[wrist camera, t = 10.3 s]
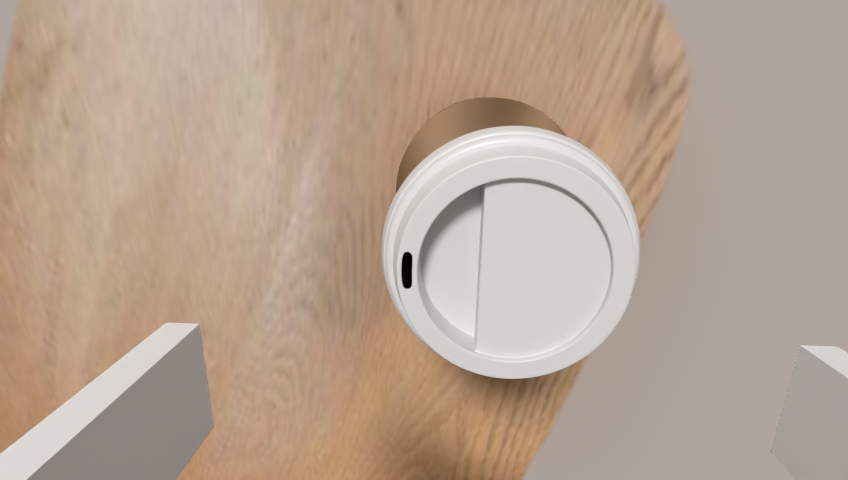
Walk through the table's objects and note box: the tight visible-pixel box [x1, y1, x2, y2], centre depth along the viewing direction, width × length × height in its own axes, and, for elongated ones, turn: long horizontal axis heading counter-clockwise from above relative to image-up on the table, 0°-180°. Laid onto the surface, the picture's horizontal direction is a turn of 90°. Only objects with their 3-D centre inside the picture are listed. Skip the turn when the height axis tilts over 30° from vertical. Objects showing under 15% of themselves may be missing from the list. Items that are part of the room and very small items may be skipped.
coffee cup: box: [382, 126, 640, 379], centre depth 22 cm, size 10×10×15 cm
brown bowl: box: [396, 98, 567, 193], centre depth 32 cm, size 12×12×5 cm
